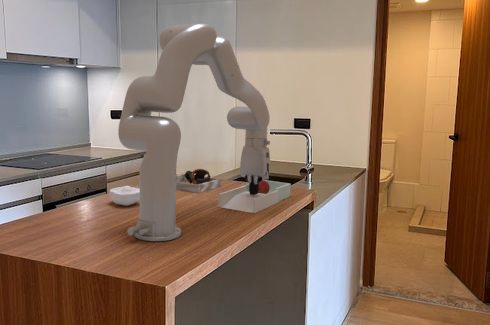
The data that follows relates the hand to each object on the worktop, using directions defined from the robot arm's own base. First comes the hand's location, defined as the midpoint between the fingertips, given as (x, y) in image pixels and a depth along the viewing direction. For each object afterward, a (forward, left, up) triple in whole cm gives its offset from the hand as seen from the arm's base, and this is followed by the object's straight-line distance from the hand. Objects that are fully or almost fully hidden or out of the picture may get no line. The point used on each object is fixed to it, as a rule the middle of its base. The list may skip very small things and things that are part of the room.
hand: (253, 194), depth 164 cm
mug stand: (+10, +34, -3) cm, 36 cm away
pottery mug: (+12, +32, -4) cm, 35 cm away
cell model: (-28, +34, -4) cm, 44 cm away
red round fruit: (+7, +2, +1) cm, 7 cm away
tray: (+12, 0, -3) cm, 12 cm away
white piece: (-3, 0, -4) cm, 5 cm away
